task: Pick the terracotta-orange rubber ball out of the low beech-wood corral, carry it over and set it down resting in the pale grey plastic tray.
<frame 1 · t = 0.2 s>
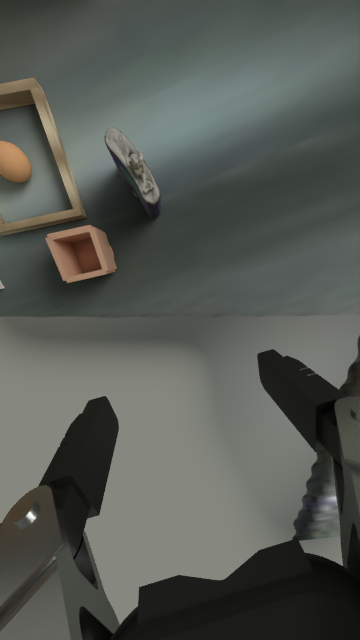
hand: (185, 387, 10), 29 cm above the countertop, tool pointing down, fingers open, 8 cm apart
cup: (94, 255, 33), on the countertop
corral: (22, 169, 28), on the countertop
ball: (11, 162, 26), point 2 cm above the countertop
flask: (141, 192, 31), on the countertop
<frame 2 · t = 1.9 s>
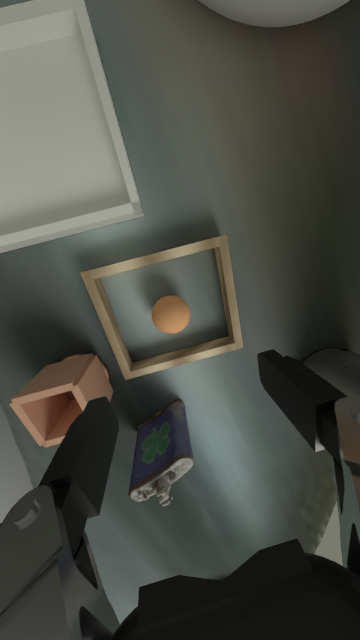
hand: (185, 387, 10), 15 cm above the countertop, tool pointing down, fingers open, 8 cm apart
cup: (83, 376, 26), on the countertop
corral: (170, 309, 24), on the countertop
ball: (171, 314, 22), point 2 cm above the countertop
tray: (41, 156, 18), on the countertop
flask: (161, 417, 30), on the countertop
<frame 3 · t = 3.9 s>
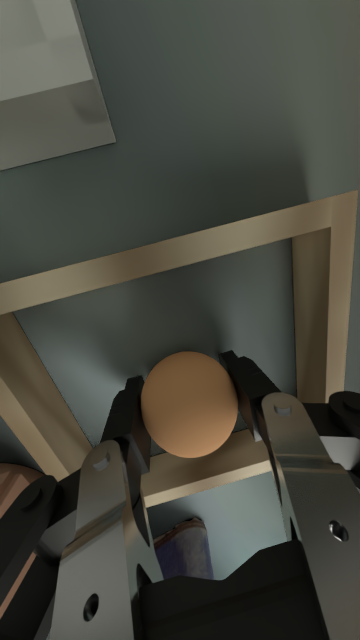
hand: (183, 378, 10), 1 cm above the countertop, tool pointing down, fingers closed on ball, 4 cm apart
cup: (5, 499, 13), on the countertop
corral: (182, 372, 11), on the countertop
ball: (188, 399, 9), point 2 cm above the countertop, touching gripper
flask: (162, 541, 17), on the countertop
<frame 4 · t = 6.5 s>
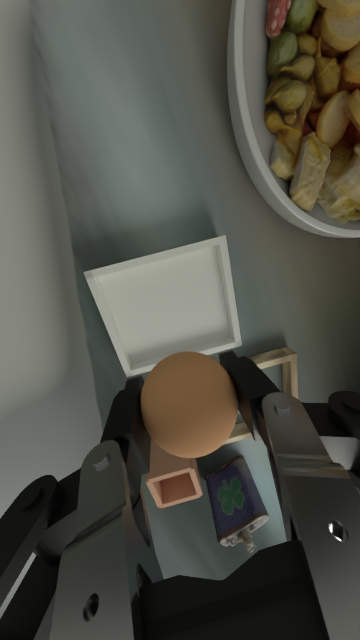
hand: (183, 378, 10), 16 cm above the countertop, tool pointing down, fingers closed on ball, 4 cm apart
cup: (172, 442, 33), on the countertop
corral: (243, 394, 31), on the countertop
ball: (188, 399, 9), point 17 cm above the countertop, touching gripper
tray: (170, 307, 25), on the countertop
flask: (224, 468, 37), on the countertop
bowl: (350, 91, 20), on the countertop
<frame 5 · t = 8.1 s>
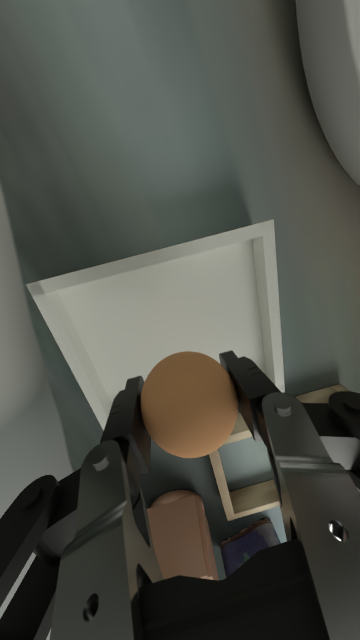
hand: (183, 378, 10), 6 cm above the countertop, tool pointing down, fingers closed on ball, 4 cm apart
cup: (176, 507, 24), on the countertop
corral: (275, 447, 23), on the countertop
ball: (188, 399, 9), point 8 cm above the countertop, touching gripper
tray: (175, 333, 16), on the countertop
flask: (244, 531, 28), on the countertop
when the fingers open (3 cm above the countertop, at t = 9.3 s): ball stays where it is, resting on tray.
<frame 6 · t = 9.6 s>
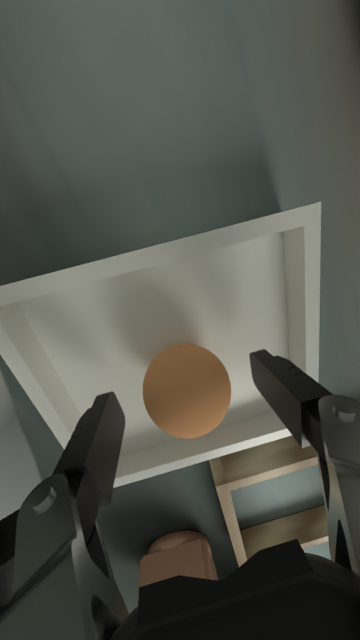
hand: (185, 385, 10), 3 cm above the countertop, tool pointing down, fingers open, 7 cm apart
cup: (179, 549, 21), on the countertop
corral: (295, 480, 19), on the countertop
ball: (186, 387, 10), point 3 cm above the countertop, touching tray
tray: (178, 354, 13), on the countertop
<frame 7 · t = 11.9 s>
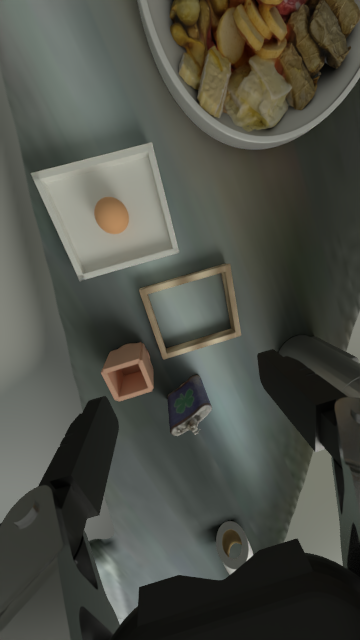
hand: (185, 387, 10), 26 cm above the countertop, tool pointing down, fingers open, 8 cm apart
cup: (132, 358, 37), on the countertop
corral: (191, 311, 36), on the countertop
ball: (112, 216, 26), point 3 cm above the countertop, touching tray
tray: (116, 220, 29), on the countertop
toilet paper: (228, 528, 65), on the countertop
flask: (183, 387, 42), on the countertop
bowl: (252, 18, 24), on the countertop
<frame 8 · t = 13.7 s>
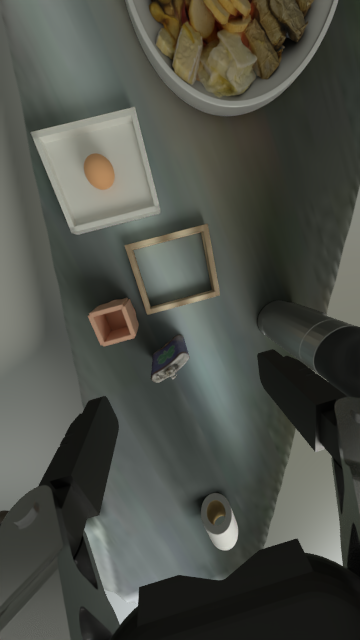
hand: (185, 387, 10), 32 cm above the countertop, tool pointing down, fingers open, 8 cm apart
cup: (120, 314, 41), on the countertop
corral: (174, 271, 39), on the countertop
ball: (99, 172, 29), point 3 cm above the countertop, touching tray
tray: (105, 180, 33), on the countertop
toilet paper: (215, 500, 66), on the countertop
flask: (168, 347, 45), on the countertop
bowl: (223, 1, 28), on the countertop
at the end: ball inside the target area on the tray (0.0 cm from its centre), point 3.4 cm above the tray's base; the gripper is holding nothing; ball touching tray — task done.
